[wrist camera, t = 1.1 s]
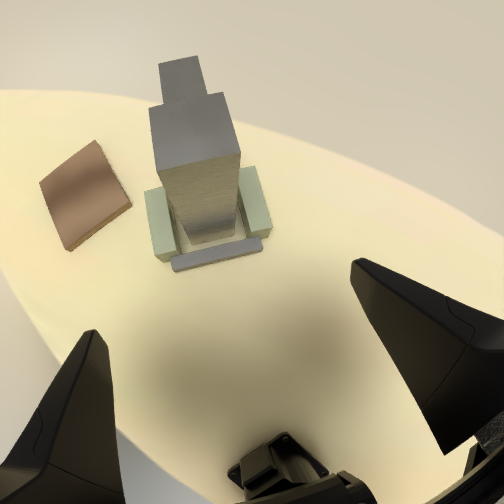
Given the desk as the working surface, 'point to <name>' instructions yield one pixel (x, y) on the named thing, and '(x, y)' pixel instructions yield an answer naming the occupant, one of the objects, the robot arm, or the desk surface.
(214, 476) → the desk surface
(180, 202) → the stepped metal bracket
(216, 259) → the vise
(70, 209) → the walnut board
